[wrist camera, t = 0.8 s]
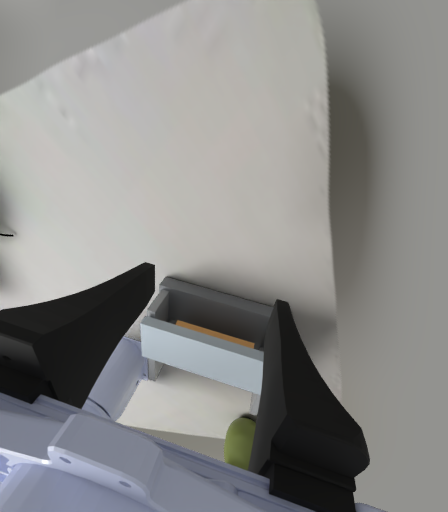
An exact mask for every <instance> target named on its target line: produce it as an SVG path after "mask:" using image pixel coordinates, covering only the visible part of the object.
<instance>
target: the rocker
mask: <svg viewBox="0 0 448 512" xmlns="http://www.w3.org/2000/svg"><path fill="white" fill-rule="evenodd" d="M176 325H178V326H181V327H184V328H187V329H191V330H194V331H197V332H200V333H204V334H207V335H210V336H213V337H217V338H220V339H223V340H226V341H230V342H233V343H236V344H239V345H243V346H246V347H249V348H252V349H254V344H255V343H252V342H248V341H245V340H242V339H238V338H235V337H232V336H229V335H225V334H222V333H219V332H215V331H212V330H209V329H206V328H202V327H199V326H196V325H193V324H189V323H186V322H183V321H179V320H177V322H176Z"/></svg>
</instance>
